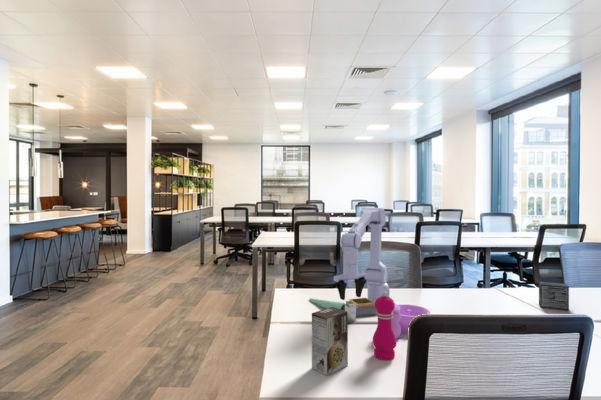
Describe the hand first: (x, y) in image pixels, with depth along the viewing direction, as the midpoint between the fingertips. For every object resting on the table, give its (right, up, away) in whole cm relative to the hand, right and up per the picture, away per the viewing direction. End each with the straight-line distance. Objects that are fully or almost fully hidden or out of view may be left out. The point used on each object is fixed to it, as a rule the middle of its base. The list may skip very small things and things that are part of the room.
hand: (350, 297), depth 151 cm
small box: (+92, -9, +18) cm, 94 cm away
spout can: (0, -9, 0) cm, 9 cm away
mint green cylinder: (-8, -9, +17) cm, 21 cm away
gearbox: (+6, -9, +11) cm, 15 cm away
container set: (+18, -10, -10) cm, 23 cm away
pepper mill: (+6, -10, -32) cm, 34 cm away
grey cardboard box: (-11, -10, -40) cm, 43 cm away
